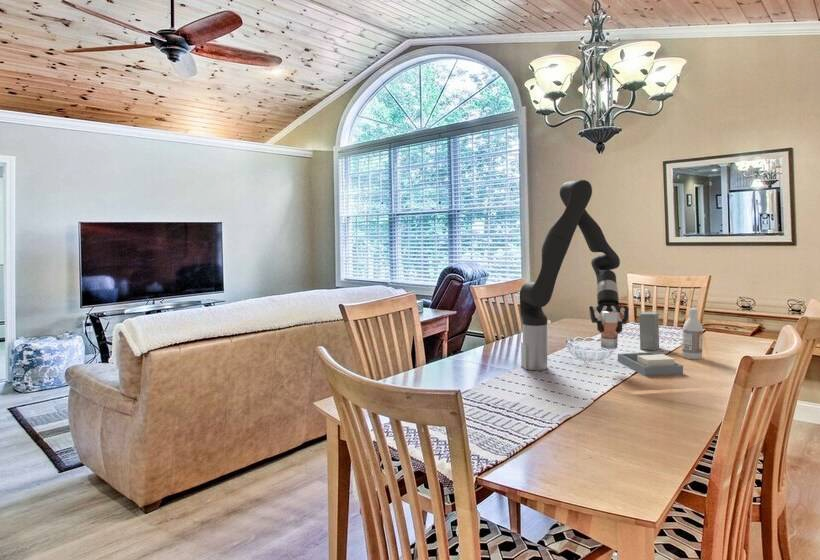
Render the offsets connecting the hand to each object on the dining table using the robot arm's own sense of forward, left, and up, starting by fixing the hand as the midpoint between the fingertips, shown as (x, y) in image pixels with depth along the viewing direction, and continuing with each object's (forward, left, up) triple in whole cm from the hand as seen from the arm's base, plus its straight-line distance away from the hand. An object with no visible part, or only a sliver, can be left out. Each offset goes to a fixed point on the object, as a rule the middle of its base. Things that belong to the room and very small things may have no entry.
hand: (610, 331), depth 182 cm
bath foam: (+43, +18, -16) cm, 49 cm away
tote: (+17, +4, -16) cm, 23 cm away
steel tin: (+1, +2, -6) cm, 6 cm away
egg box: (+17, -1, -15) cm, 22 cm away
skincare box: (+35, +36, -16) cm, 52 cm away
